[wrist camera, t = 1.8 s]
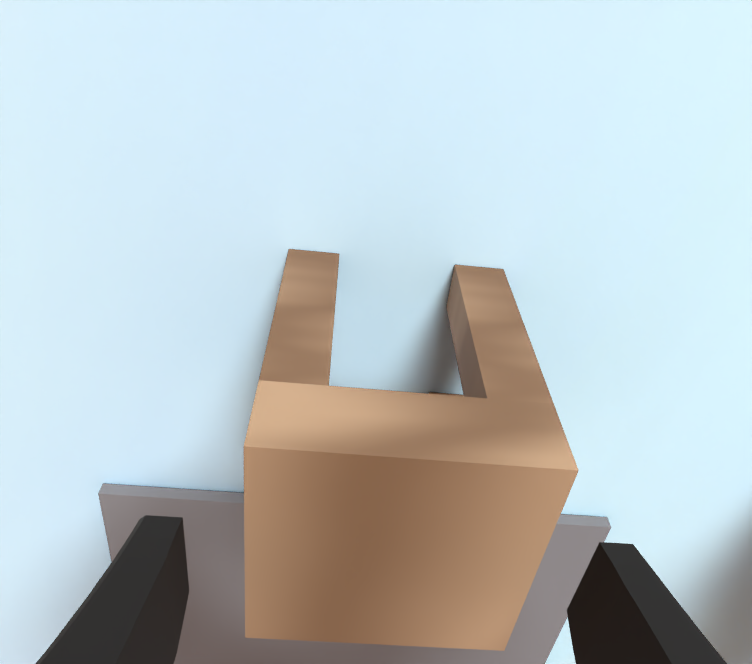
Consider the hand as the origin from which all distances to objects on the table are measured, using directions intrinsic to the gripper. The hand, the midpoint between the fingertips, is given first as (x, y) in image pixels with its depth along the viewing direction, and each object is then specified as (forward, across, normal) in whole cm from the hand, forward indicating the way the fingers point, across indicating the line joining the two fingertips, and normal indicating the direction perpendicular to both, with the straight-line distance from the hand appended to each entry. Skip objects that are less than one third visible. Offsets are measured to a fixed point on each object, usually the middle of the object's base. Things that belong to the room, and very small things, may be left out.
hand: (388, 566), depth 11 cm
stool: (+7, 0, 0) cm, 7 cm away
